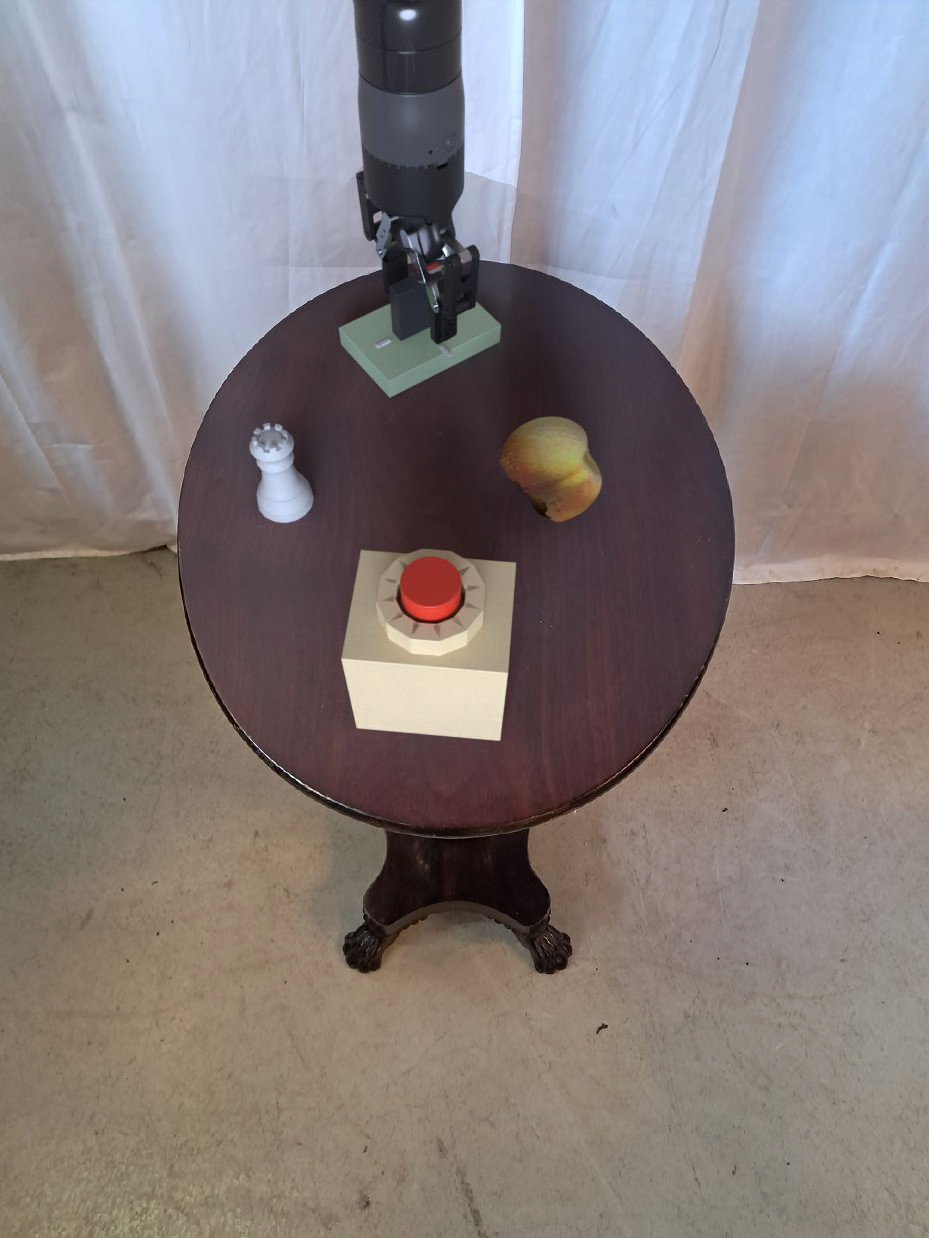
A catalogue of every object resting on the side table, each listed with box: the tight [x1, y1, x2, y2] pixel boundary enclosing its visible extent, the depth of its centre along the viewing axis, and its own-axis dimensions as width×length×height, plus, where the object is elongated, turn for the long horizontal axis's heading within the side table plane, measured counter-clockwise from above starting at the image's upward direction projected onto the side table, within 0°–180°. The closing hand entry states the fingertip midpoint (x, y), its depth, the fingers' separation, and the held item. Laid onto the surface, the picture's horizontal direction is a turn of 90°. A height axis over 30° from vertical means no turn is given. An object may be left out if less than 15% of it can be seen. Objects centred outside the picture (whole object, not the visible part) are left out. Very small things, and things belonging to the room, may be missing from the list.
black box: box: [389, 262, 444, 341], centre depth 78 cm, size 5×1×5 cm, turn 126°
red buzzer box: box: [340, 548, 517, 742], centre depth 60 cm, size 10×8×12 cm
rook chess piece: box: [248, 422, 315, 524], centre depth 70 cm, size 4×4×8 cm
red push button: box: [400, 557, 461, 622], centre depth 54 cm, size 4×4×2 cm
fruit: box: [498, 416, 603, 523], centre depth 70 cm, size 8×8×8 cm
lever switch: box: [338, 301, 502, 398], centre depth 81 cm, size 12×9×2 cm
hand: (419, 314), depth 80 cm, fingers open, 6 cm apart
